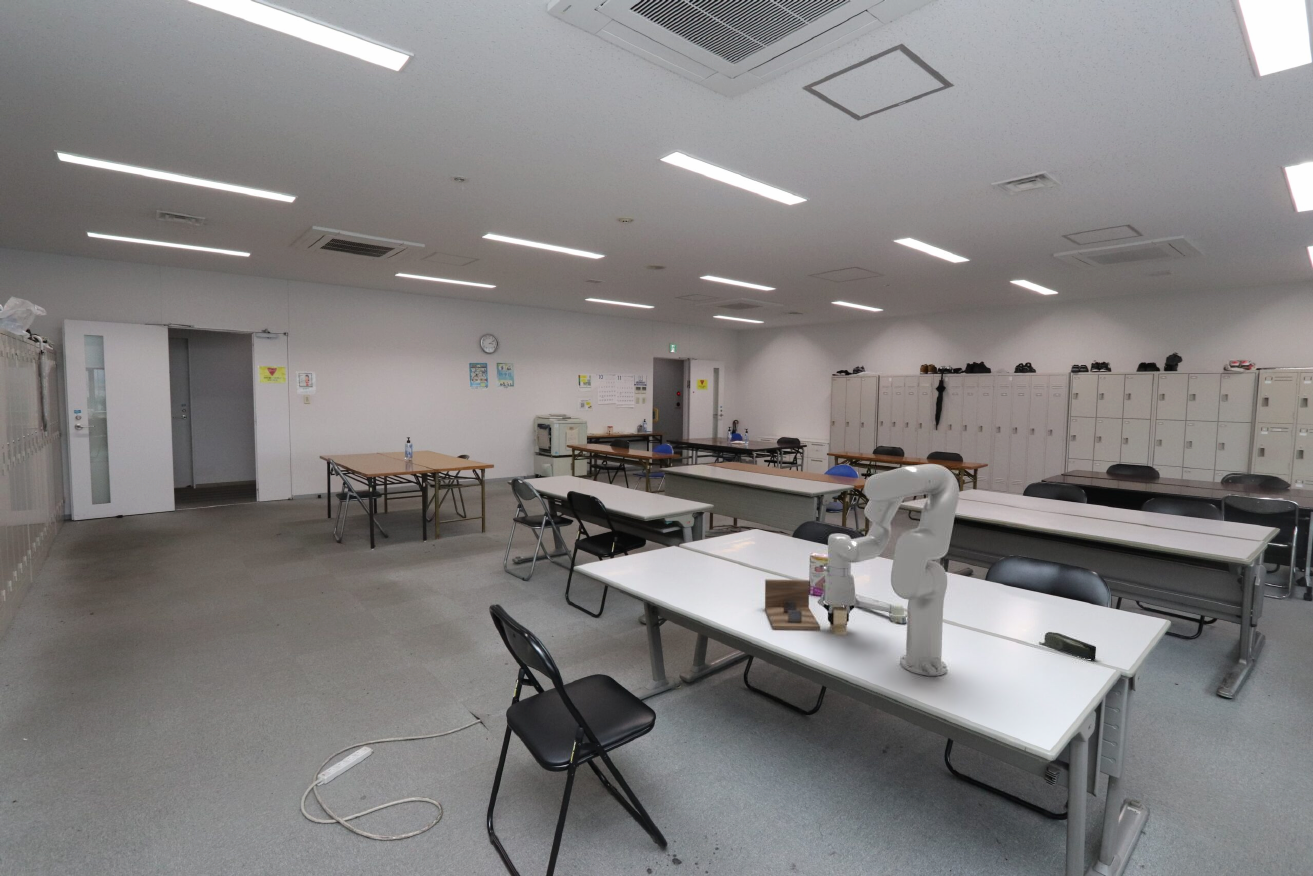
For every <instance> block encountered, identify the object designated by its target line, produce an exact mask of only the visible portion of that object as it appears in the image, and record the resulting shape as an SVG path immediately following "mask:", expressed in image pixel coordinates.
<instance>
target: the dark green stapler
mask: <svg viewBox="0 0 1313 876" xmlns="http://www.w3.org/2000/svg"><path fill="white" fill-rule="evenodd" d="M1038 644H1039V645H1041V644H1042V646H1044V645H1045V647H1047V646H1048V648H1051V649H1053V648H1054V650H1056V649H1057V650H1056V651H1059V652H1062V651H1063V652H1062V653H1065V652H1066V653H1065V654H1068V655H1070V654H1072V655H1071V656H1073V655H1076V656H1079V657H1081V658H1080V659H1082V658H1085V659H1091V660H1093V659H1095V660H1096V655H1097V647H1096V646H1095V645H1093V644H1090V643H1088V642H1084V641H1082V640H1080V639H1076V638H1073V637H1070V636H1067V635H1064V634H1062V633H1059V632H1052V631H1048V632H1046V633H1045V634H1044V642H1041V641H1039V642H1038ZM1076 656H1075V657H1076ZM1079 657H1078V658H1079ZM1085 659H1084V660H1085ZM1093 661H1094V660H1093Z"/></svg>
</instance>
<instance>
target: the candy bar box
mask: <svg viewBox="0 0 1313 876" xmlns="http://www.w3.org/2000/svg"><path fill="white" fill-rule="evenodd" d="M827 564H828V554H824V553H817V552H812V553H811V554H809V573H808V575H809V576H808V577H809V579H808V580H809V595H810V594H811V596H815V595H816V596H817V597H821V596H822V594H823V585H824V579H825V575H826V573H828V572H826V571H824V570H823V567H827Z"/></svg>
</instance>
